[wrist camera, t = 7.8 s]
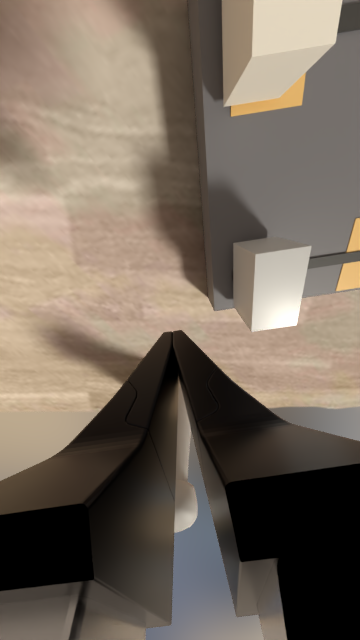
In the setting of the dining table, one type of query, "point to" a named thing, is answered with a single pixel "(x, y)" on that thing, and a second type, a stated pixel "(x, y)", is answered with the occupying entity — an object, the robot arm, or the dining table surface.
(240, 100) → the cream fader
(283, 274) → the block
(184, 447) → the salt shaker
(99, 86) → the dining table surface
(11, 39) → the dining table surface
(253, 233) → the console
